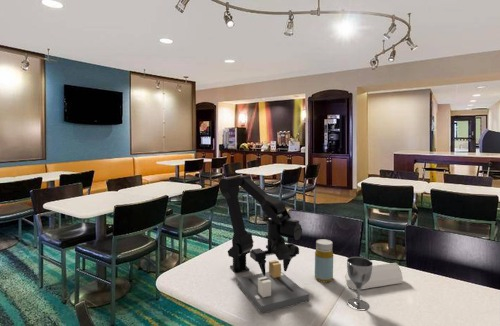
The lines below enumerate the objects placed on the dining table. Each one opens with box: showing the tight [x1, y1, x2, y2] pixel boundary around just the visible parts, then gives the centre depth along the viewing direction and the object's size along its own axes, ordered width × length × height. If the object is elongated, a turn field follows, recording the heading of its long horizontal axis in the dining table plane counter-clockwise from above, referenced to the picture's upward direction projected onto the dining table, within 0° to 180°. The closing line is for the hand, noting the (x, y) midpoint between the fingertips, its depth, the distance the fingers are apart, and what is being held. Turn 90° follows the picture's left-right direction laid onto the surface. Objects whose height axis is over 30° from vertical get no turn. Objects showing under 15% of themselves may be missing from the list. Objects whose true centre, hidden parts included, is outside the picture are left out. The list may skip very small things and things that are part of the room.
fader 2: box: [268, 259, 282, 278], centre depth 120 cm, size 4×3×5 cm
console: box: [236, 271, 310, 314], centre depth 112 cm, size 21×18×3 cm
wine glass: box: [346, 256, 374, 311], centre depth 104 cm, size 8×8×15 cm
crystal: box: [344, 262, 404, 291], centre depth 120 cm, size 7×7×24 cm
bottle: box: [314, 238, 334, 283], centre depth 122 cm, size 7×7×15 cm
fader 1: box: [258, 276, 271, 297], centre depth 106 cm, size 4×3×5 cm
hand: (274, 273), depth 120 cm, fingers open, 9 cm apart
